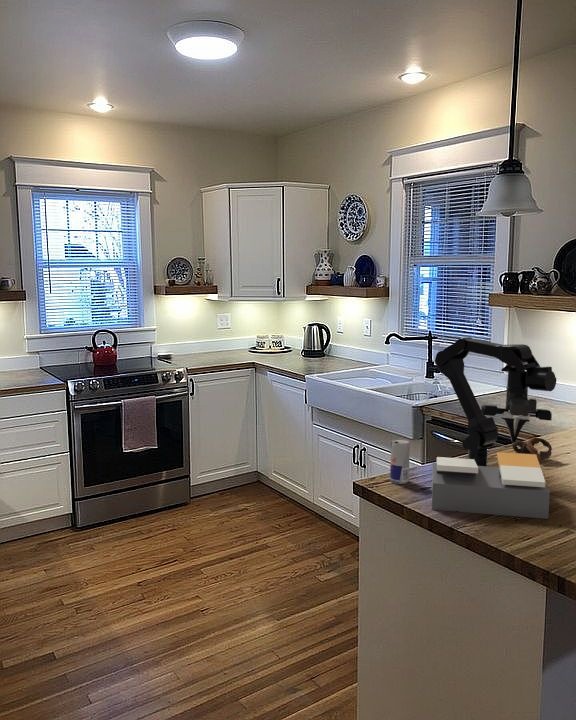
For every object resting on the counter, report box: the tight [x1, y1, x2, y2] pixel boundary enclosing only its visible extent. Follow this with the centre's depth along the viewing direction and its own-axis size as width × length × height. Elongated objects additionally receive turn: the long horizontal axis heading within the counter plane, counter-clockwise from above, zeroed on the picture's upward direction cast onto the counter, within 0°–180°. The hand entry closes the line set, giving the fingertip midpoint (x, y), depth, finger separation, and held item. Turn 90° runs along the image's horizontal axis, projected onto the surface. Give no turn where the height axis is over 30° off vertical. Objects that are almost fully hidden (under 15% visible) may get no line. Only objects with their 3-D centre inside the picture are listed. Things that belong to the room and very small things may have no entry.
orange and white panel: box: [496, 451, 546, 487], centre depth 166 cm, size 16×10×1 cm, turn 167°
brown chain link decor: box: [511, 436, 553, 462], centre depth 207 cm, size 12×10×8 cm
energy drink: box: [389, 438, 411, 485], centre depth 185 cm, size 5×5×12 cm
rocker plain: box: [436, 456, 478, 473], centre depth 170 cm, size 16×10×1 cm, turn 167°
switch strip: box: [431, 462, 551, 520], centre depth 169 cm, size 18×28×8 cm, turn 77°
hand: (513, 442), depth 185 cm, fingers closed
